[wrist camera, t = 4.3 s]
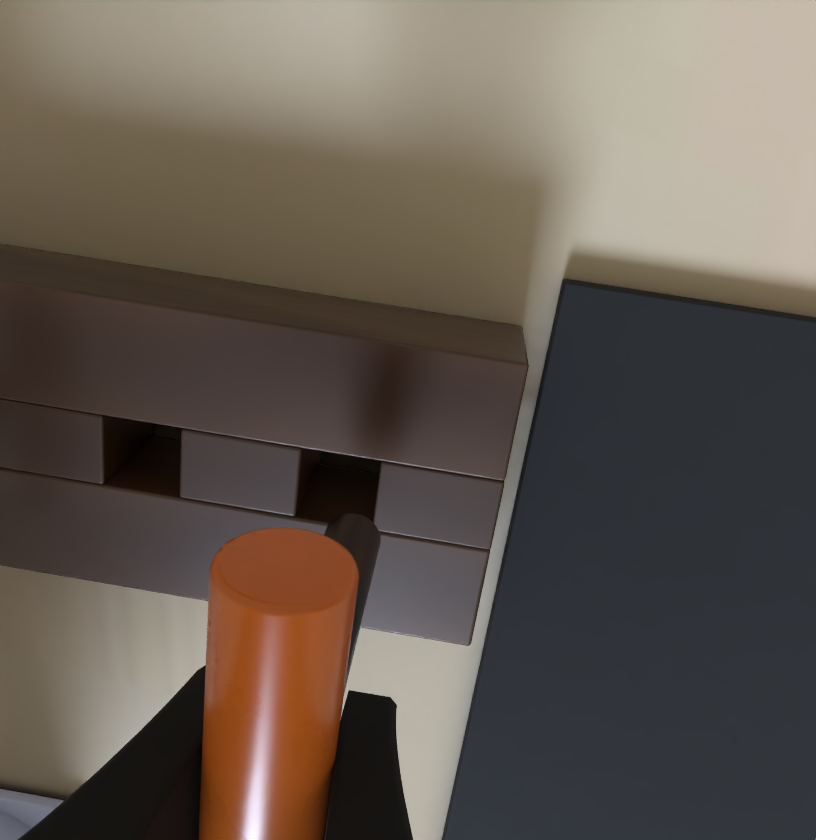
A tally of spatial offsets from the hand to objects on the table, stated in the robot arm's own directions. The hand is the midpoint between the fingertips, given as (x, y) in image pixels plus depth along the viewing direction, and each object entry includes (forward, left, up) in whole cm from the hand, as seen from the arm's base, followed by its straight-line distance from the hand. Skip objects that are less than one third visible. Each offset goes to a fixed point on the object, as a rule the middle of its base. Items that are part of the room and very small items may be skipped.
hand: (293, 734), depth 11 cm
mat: (-5, -9, -10) cm, 14 cm away
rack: (0, +5, -10) cm, 11 cm away
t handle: (0, 0, -6) cm, 6 cm away
